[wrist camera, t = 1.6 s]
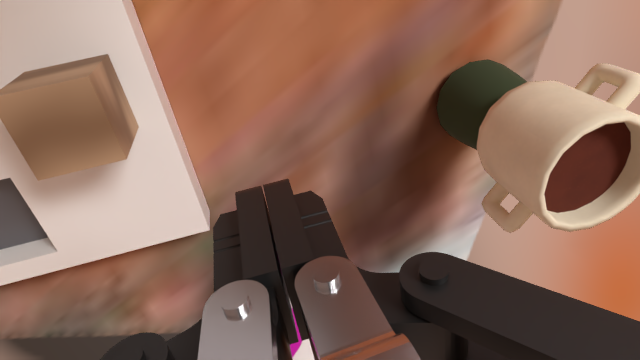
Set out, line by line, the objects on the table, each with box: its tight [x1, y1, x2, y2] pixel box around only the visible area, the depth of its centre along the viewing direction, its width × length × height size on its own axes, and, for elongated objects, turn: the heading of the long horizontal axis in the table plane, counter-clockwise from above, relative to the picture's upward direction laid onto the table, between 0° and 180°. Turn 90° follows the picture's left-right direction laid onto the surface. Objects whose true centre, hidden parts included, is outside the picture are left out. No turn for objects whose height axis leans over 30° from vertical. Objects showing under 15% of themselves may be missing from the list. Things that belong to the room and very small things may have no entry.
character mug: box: [437, 60, 640, 233], centre depth 28 cm, size 11×7×13 cm, turn 148°
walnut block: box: [0, 54, 139, 181], centre depth 23 cm, size 4×4×4 cm
